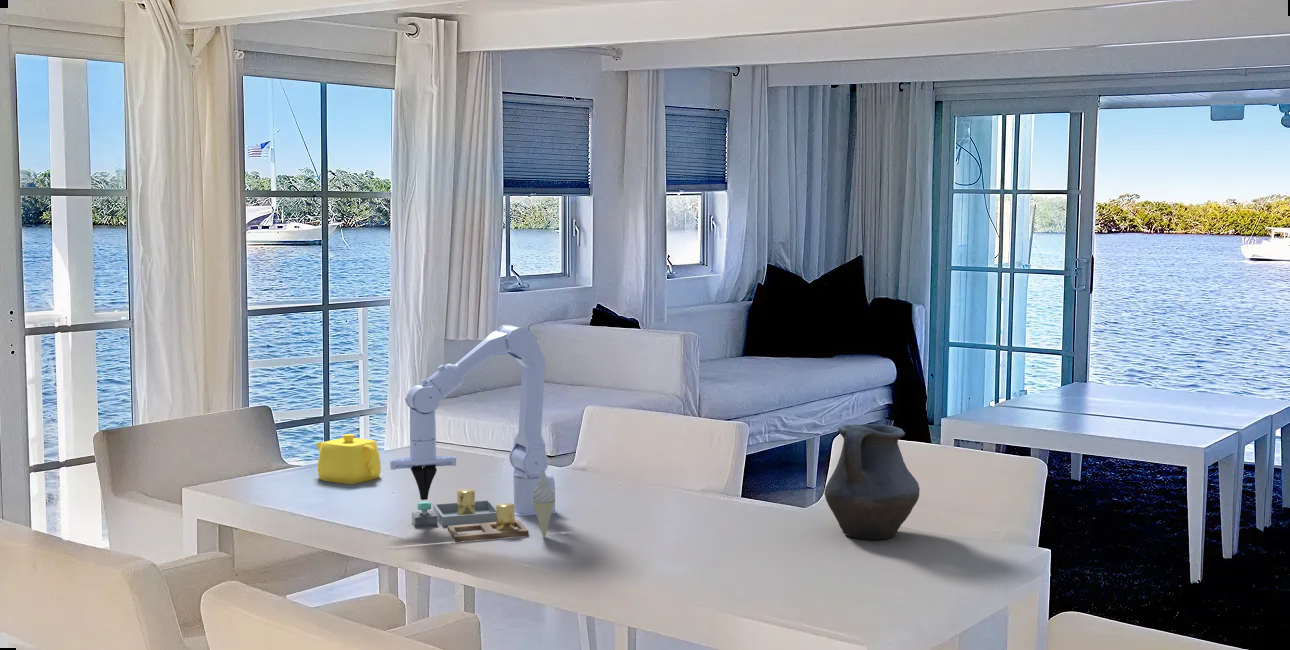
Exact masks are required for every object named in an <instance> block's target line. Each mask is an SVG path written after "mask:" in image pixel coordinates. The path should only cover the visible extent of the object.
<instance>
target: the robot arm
mask: <svg viewBox="0 0 1290 650" xmlns="http://www.w3.org/2000/svg"><path fill="white" fill-rule="evenodd" d="M507 355H510V356H512V357H513V358H514V360H516V361H517V363H518V364H519V365H521V380H520V397H519V399H520V400H519V415H518V416H519V418H518V433H517V434H516V436H515V438H514V441H513V447H512V448H511V450H510V453H509V456H508V457H509V463H510V465H511V466H512V467H513V468H514V471H513V477H512V478H513V504H514V505H515V517H525V516H534V515H535V516H537V514H536V511H535V507H534V504H533V502H532V500H533V499H532V497H533V493H532V492H533V491H534V490H535V488H536V487H537V485H538V480H539V479H540V476H541V474H542V471H543V469H544V472H545V474H546V476H547V478H548V480H549V481H550V483H549V484H550V486H551V487H552V488H553V489H554V491H555V492H556V485H555V484H556V483H555V478H554V475H553V474H552V473H546V471H547V470H548V469H547V468H548V466H549V457H548V456H547V452H546V443H545V441H544V438H543V437H542V428H543V427H542V424H543V407H544V389H545V374H546V373H545V371H546V358H545V355H544V353H543V351H542V349H541V347H540V346H539V343H538V337H537V336H536V335H535V334H533V332H531V331H530V330H529V329H527V328H525V327H518V326H514V325H512V324H503V325H501V326H499V327H498V328H497V330H494V331H493V332H490V334H488V336H486V338H484V339H483V340H481V342H480V343H478V344H477V345H476V346H475V347H473V348H472V349H471V350H470V351H469V352H468V353H466V354H465V355H464V356H462V358H461V359H459V360H458V361H457V362H455V364H453V363H446V364H445V365H444V364H440V365H439V366H438V367H437V369H438V370H437V371H435V372H434V373H433V374H431V375H430V376H429V377H428V378H423V379H422V380H421V381H420V382H421V384H418V385H414V386H412V387H410V389H409V390H408V393H407V394H406V397H405V403H406V405H407V406H408V408H409V454H410V455H409V456H410V457H404V458H395V459H390V460H389V468H390V470H393V471H394V470H397V469H398V470H400V469H410V471H411V473H412V475H413V478H414V479H415V482H416V485H417V487H418V491H419V497H420V500H421V501H427V500H428V499H429V498H428V497H429V493H430V488H431V485H432V483H433V480H434V477H435V476H436V473H437V467H445V466H446V467H447V466H451V467H456V466H457V456H455V455H444V456H443V455H437V437H436V436H437V435H436V433H437V432H436V431H437V430H436V427H437V425H436V424H437V423H436V410H437V409H438V407H439V405H440V401H443V400H444V399H445V398H447V396H450V394H452V393H453V392H454V391H455V390H456V389H458V388H459V387H461V386H462V384H464V380H465V379H464V378H465V376H466V375H467V374H469V373H470V372H472V371H474V369H476V368H477V367H479V366H480V365H482V364H483V363H485V361H487V360H488V359H490V358H491V357H493V356H495V357H496V356H507ZM551 514H557V511H556V501H555V502H554V505H553V509H552V513H551Z"/></svg>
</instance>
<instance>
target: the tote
mask: <svg viewBox="0 0 1290 650" xmlns="http://www.w3.org/2000/svg"><path fill="white" fill-rule="evenodd" d="M432 511H434V512H435V513H436V515H437V520H438V522H439V523H440V525H441V527H446V526H447V527H448V526H451V525H463V524H475V523H488V522H496V506H495V504H494V503H492V502H491V500H490V499H485V500H475V514H468V515H458V505H457V502H444V503H434V504H432Z"/></svg>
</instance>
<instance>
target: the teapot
mask: <svg viewBox="0 0 1290 650" xmlns="http://www.w3.org/2000/svg"><path fill="white" fill-rule="evenodd" d="M315 445H316V447H317V450H318V452H319V453H318V460H317V461H318V463H317V474H318V477H319V480H321V481H324V482H330V483H335V482H336V483H338V484H345V485H356V484H361V483H364V482H369V481H372V480H376V479H379V478H380V476H381V472H382V471H381V470H382V467H381V458H380V457H381V456H380V452H379V446H378V444H377V441H376V440H373V439H365V438H359V437H355V434H354V433H345V434H342V437H341V438H335V439H331V440H327V441H320V442H316V443H315ZM336 483H335V484H336Z"/></svg>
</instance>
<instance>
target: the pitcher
mask: <svg viewBox="0 0 1290 650" xmlns="http://www.w3.org/2000/svg"><path fill="white" fill-rule="evenodd" d="M837 430H838V433H839V435H840V436H842V438H843V443H842V448H841V453H840V455H839V459H838V462H837V464H836V467H835V469H834V471H833V473H832V475H831V476H830V478H829V479H828V481H827V484H826V486H825V488H824V492H823V493H824V497H825V500H826V503H827V505H828V507H829V509H830V510H831V512H832V513H833V515H834V517H835V519H836V521H837V523H838V526H839V527H840V529H841V530H842V533H843V534H845V535H846V536H849V537H852V538H855V539H860V540H866V541H871V542H872V541H873V542H874V541H881V540H889V539H891V538H893V537H894V536H895V535H896V533H897V532H898V530H899V529H900V527H901V526H902V524H904V522H906V520H907V519H908V517H909V515H910V514H911V513H912V511H913V508H914V507H915V506H916V504H917V502H918V501H919V499H920V485H919V483H918V481H917V479H916V478H915V476H914V475H913V474H912V473H911V472H910V471H909V469H908V467H907V466H906V465H907V464H906V462H905V460H904V457H903V456H902V455H903V454H902V453H901V449H900V447H899V443H898V442H899V440H900V439H901V438H903V437H905V435H906V432H905V431H904V430H903V429H902V428H900V427H897V426H893V425H889V424H877V423H876V424H875V423H874V424H869V423H868V424H867V423H864V424H863V423H862V424H843V425H841V426H839V427H838V429H837Z"/></svg>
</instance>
